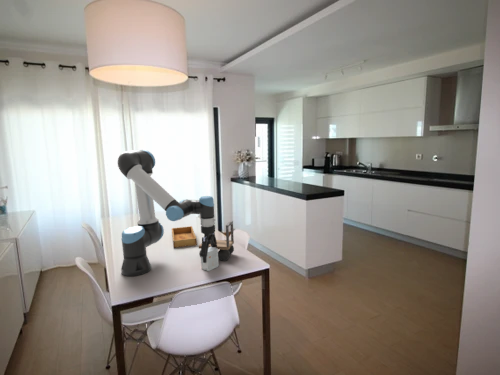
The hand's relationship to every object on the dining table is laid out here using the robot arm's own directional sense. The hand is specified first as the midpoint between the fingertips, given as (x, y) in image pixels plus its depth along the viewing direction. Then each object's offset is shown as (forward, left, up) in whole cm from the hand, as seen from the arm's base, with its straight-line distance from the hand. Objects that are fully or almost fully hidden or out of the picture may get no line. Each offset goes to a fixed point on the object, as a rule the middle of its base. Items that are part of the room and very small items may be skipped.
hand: (209, 262), depth 169 cm
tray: (+45, +35, -3) cm, 57 cm away
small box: (0, 0, -3) cm, 3 cm away
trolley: (+16, +1, -3) cm, 16 cm away
